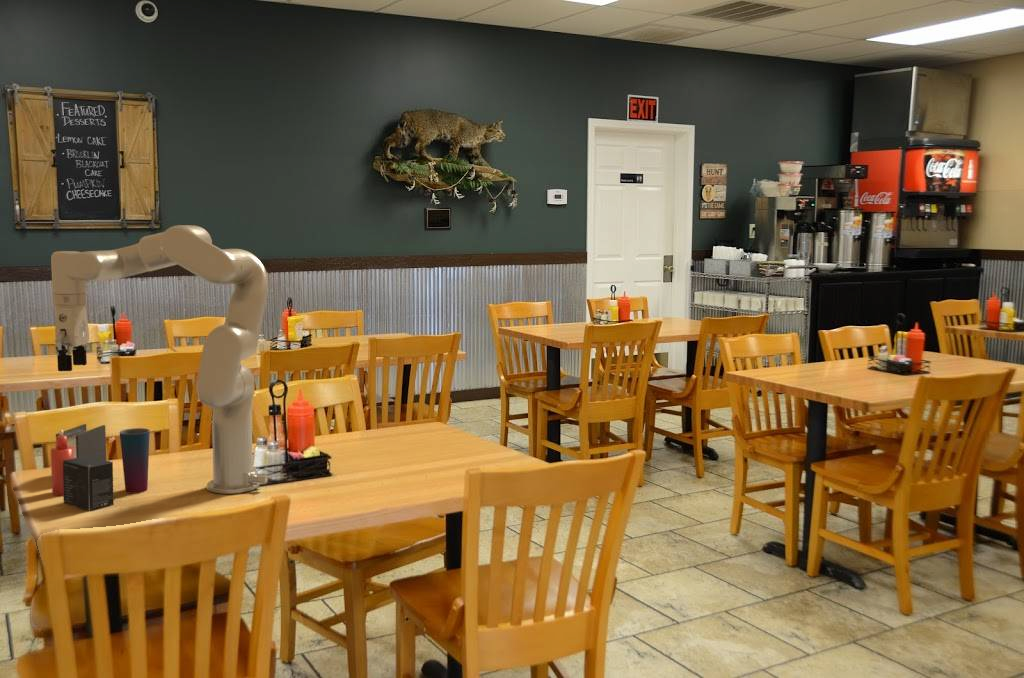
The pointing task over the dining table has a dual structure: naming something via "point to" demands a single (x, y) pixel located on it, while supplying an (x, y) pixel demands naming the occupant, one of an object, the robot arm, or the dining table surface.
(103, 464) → the box
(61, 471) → the ketchup bottle
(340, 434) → the dining table surface
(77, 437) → the napkin holder
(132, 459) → the cup
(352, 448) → the dining table surface
